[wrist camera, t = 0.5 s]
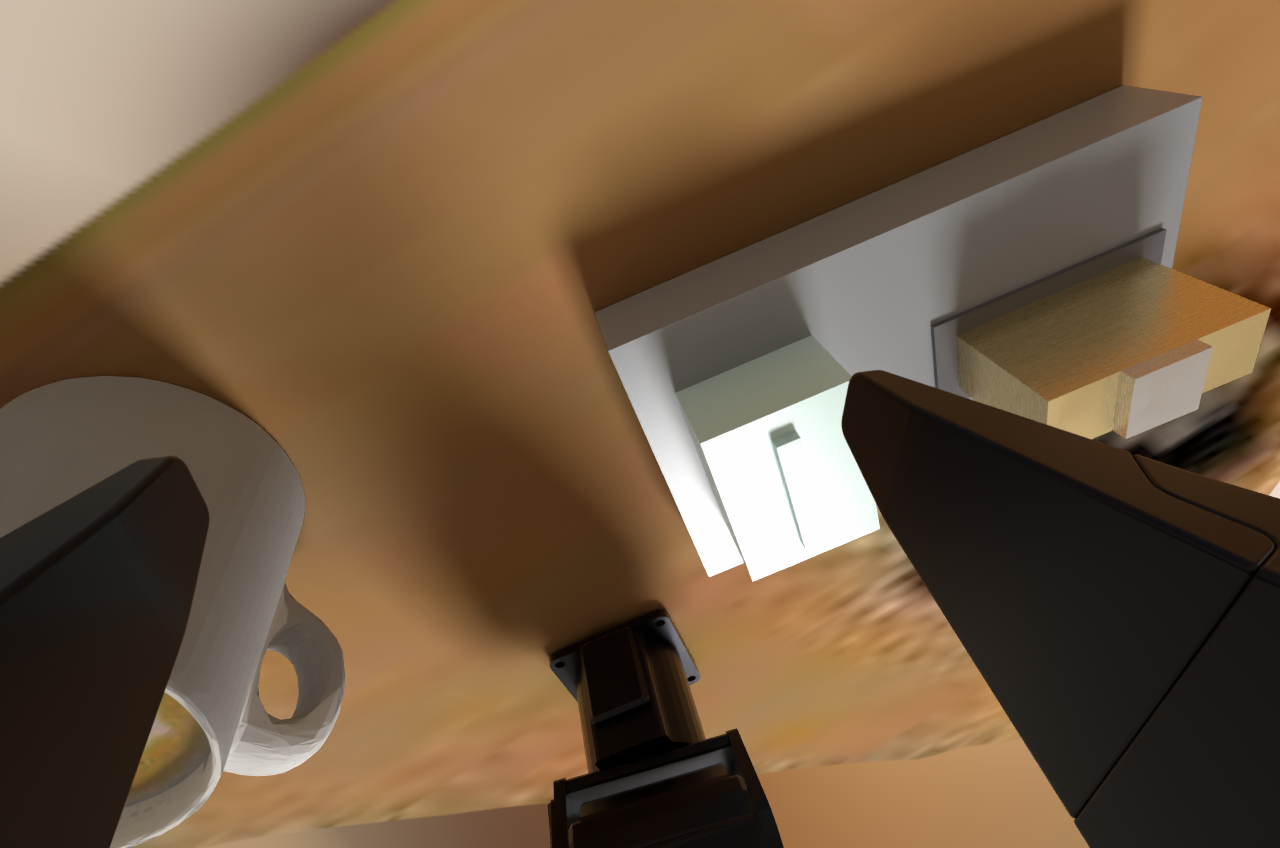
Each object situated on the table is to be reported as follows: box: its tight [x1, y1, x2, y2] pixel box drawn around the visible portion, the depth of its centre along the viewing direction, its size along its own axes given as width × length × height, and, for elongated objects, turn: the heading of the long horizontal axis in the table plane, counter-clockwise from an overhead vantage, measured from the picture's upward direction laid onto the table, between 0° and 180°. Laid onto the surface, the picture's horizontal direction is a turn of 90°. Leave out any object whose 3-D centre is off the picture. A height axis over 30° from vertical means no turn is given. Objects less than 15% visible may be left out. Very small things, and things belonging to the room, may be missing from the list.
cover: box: [675, 335, 880, 581], centre depth 22 cm, size 7×5×3 cm
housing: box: [594, 85, 1202, 577], centre depth 25 cm, size 12×20×3 cm, turn 109°
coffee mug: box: [0, 376, 345, 848], centre depth 20 cm, size 13×10×10 cm
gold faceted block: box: [956, 257, 1271, 439], centre depth 21 cm, size 2×7×5 cm, turn 109°
